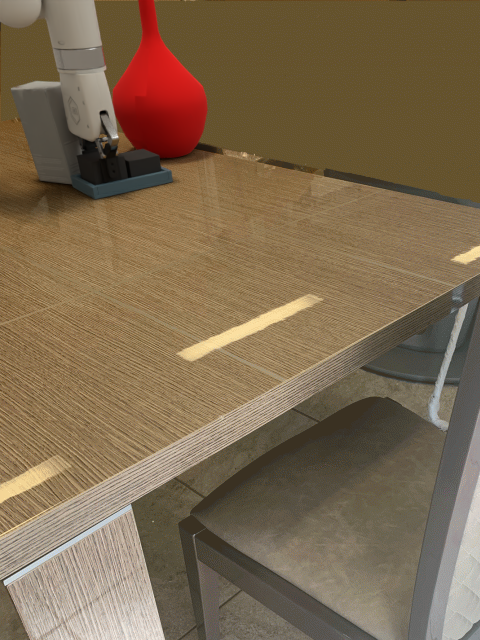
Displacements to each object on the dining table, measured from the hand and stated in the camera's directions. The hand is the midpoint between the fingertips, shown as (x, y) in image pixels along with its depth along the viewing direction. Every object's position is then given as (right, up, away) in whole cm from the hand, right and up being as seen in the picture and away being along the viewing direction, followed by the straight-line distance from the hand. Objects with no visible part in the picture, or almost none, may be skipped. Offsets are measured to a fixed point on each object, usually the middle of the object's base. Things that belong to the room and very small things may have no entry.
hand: (104, 176), depth 112 cm
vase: (+6, +13, +20) cm, 25 cm away
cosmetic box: (-9, +1, +6) cm, 11 cm away
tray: (+2, 0, +3) cm, 4 cm away
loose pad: (0, 0, 0) cm, 1 cm away
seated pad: (+5, +1, +4) cm, 7 cm away
